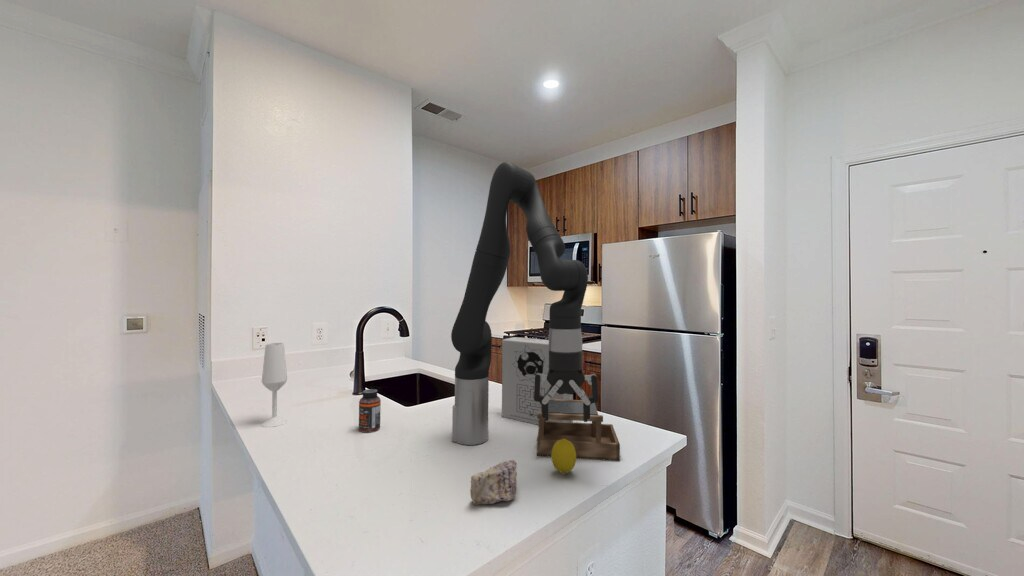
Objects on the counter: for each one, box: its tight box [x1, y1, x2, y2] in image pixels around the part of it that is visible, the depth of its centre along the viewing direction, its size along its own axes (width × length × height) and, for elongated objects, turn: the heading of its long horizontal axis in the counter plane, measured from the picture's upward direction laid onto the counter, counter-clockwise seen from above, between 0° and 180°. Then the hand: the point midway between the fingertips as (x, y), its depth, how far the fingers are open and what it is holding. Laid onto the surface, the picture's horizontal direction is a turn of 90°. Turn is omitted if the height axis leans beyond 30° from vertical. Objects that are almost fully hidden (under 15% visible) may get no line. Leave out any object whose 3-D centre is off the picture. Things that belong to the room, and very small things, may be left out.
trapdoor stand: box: [536, 399, 621, 462], centre depth 103 cm, size 20×14×10 cm
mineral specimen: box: [469, 459, 518, 506], centre depth 79 cm, size 13×7×6 cm, turn 145°
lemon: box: [550, 438, 577, 475], centre depth 89 cm, size 6×6×8 cm
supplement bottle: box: [358, 388, 382, 433], centre depth 115 cm, size 6×6×11 cm
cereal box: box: [501, 336, 574, 426], centre depth 124 cm, size 22×8×25 cm, turn 58°
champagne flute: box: [261, 342, 288, 428], centre depth 120 cm, size 7×7×24 cm
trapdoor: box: [548, 401, 599, 421], centre depth 104 cm, size 14×10×2 cm
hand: (566, 420), depth 89 cm, fingers open, 8 cm apart
